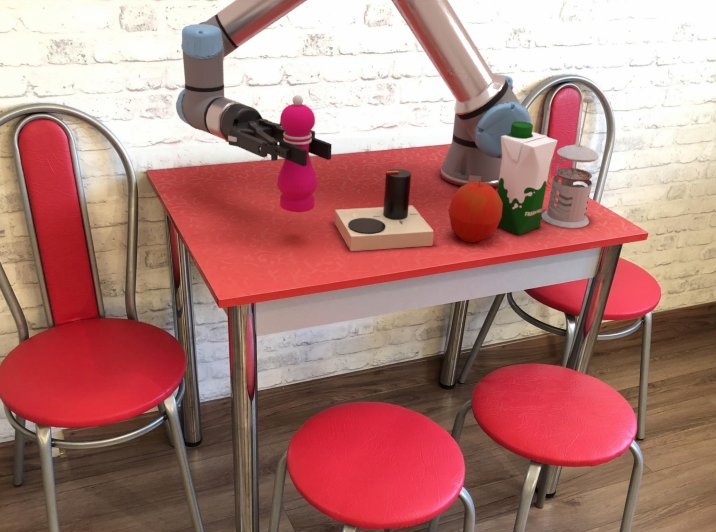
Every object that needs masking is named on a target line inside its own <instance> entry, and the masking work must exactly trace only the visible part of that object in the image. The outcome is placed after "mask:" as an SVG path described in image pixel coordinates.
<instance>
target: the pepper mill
mask: <svg viewBox="0 0 716 532" xmlns="http://www.w3.org/2000/svg"><path fill="white" fill-rule="evenodd" d="M303 102H304V99H303V97H302V96H301V95H299V94H298V95H294V96H293V98H292V104H289V105H287V106H285V107H284V108H283V109H282V112H281V113H280V119H279V124H280V123H281V125H282V127H283V129H284V130H285V132H284V133H283V135H284V138H283V140H284V141H285V142H287V143H290V144H292V145H295V146H297V147H300V148H303V149H305V150H307V166H301V165H299V164H296V163H294V162H291V161H289V160H286V159H284V161H283V163H282V166H281V168H280V170H279V172H278V175H277V182H276V183H277V184H276V185H277V188H278V190H279V192H280V193H282V194H280V196H279V206H280V208H281V209H283V210H284V211H286V212H292V213H303V212H308V211H311V210H312V209H314V207H315V196H314V195H313V194H314V192H315V191H316V190H317V188H318V178H317V173H316V171H315V169H314V166H313V164H312V162H311V157H310V153H309V143H310V142H311V141H312V139H311V136H312V133H311V132H310V131H311V130H313V128H314V127H315V124H316V123H315V122H316V117H315V113H314V111H313V109H312V108H310V107H309V106H308V105H306V104H303Z"/></svg>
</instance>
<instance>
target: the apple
mask: <svg viewBox="0 0 716 532" xmlns="http://www.w3.org/2000/svg"><path fill="white" fill-rule="evenodd" d="M502 205H503V203H502V200H501V198H500V196H499V195H498V193H497V189H495V188H492V187H491V186H490V185H488V184H486V183H482V182H480V181H479V182H470V183H467V184H466V185H464V186H459V188H458V189H457V190H456V192H455V193H454V194H453V195H452V196H451V199H450V202H449V206H448V215H449V216H448V217H449V220H450V221H449V222H450V227H451V230H452V232H453V233H455V234H456V236H458V237H459V239H461V241H464V242H467V243H477V242H481V241H482V240H485V239H487V238H488V237H491V236H493V235H494V234H495V233H496V231H497V229H498V228H499V227H498V224H499V222H500V219H501V217H502Z"/></svg>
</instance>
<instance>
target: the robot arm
mask: <svg viewBox="0 0 716 532" xmlns="http://www.w3.org/2000/svg"><path fill="white" fill-rule="evenodd" d="M307 1H308V0H233V1H232V2H231V3H229V4H228V5H227V6H225V7H224V8H223V9H221V10H219V11H218V12H217V13H216V14H214V15H213V16H211V17H209V18H208V19H207V20H206V21H202V22H199V23H193V24H189V25H186V26H185V27H183V28H182V31H181V46H180V47H181V50H182V60H183V62H182V63H183V73H184V88H183V89H182V90H181V91H180V92H179V94H178V96H177V100H176V101H175V111H176V114H177V115H178V117H179V119H180V120H181V121H182V122H183V123H185V124H187V125H189V126H190V127H192V129H195V130H199V131H202V132H205V133H207V134H210V135H212V136H215V137H217V138H219V139H221V140H224V141H225V142H226V143H228V146H232V147H236V148H239V149H242V150H245V151H246V152H249V153H251V154H254V155H256V156H258V157H261V158H267V157H268V155H270V160H271V161H278V160H279V159H278V157H280V158H281V159H284V160H285V159H286V160H289V161H291V162H294V163H296V164H299V165H301V166H307V150H305V149H303V148H300V147H297V146H295V145H292V144H290V143H287V142H285V141H284V140H283V138H284V135H283V133H284V132H285V130H284V129H283V127H282V125H281V123H280V122H279V123H277V122H273V121H271V120H268V119H266V118H263V117H262V114H261V113H260V111H258V110H257V109H256V108H255V107H252V106H249V105H247V104H244V103H241V102H240V101H238V100H237V101H236V100H233V99H230V98H228V97H225V78H224V77H225V76H224V60H225V57H227V56H228V55H230V54H231V53H233V52H235V51H236V50H237V49H238V48H240V47H241V46H242V45H244V44H245V43H246V42H248V41H249V40H251V39H253V38H254V37H255V36H257V35H258V34H260V33H261V32H263V31H265V30H266V29H267V28H268V27H270V26H272V25H273V24H274V23H276V22H277V21H279V20H280V19H282V18H283V17H285V16H286V15H287V14H289V13H291V12H292V11H294V10H295V9H296V8H298V7H299V6H301V5H303V4H304V3H306V2H307ZM390 1H391V2H392V4H393V5H394V7H395V8H396V10H397V11H398V13H399V15H400V16H401V18H402V19H403V21H404V22H405V24H406V25H407V27H408V28H409V30H410V31H411V33H412V35H413V36H414V37H415V39H416V40H417V42H418V43H419V45H420V47H421V48H422V50H423V51H424V53H425V54H426V56H427V57H428V59H429V60H430V62H431V63H432V65H433V66H434V68H435V70H436V71H437V73H438V75H440V76H439V77H441V79H442V80H443V82H444V84H445V85H446V86H447V88H448V89H449V91H450V93H451V94H452V95H453V97H454V99H455V103H454V104H455V105H454V109H453V111H454V118H453V120H454V121H453V128H452V139H451V140H452V141H451V143H450V146H449V148H448V151H447V153H446V154H445V157H444V159H443V162H442V164H441V167H440V177H441V179H443V180H444V181H446V182H447V183H449V184H451V185H454V186H458V187H462V186H464V185H466V184H467V183H470V182H479V181H480V182H482V183H486V184H488V185H490V186H491V187H492V188H494V189H495V188H498V182H499V175H500V168H501V161H502V147H501V136H504V135H506V134H509V133H511V125H512V123H513V122H527V123H530V124H532V125H533V122H532V118H531V115H530V112H529V110H528V109H527V107H525V106H524V105H523V104H522V103H521V102H520V101H519V98H518V97H517V96H516V94H515V92H514V91H513V89H514V85H513V82H514V81H513V78H512V77H511V76H509V75H505V74H497V73H493V71H492V70H491V68H490V67H489V65H488V63H487V62H486V60H485V59H484V57H483V55H482V54H481V52H480V51H479V48H478V47H477V45H476V44H475V42H474V41H473V39H472V37H471V35H470V34H469V33H468V31H467V29H466V28H465V26H464V24H463V23H462V21H461V19H460V18H459V16H458V14H457V13H456V12H455V9H454V8H453V6H452V5H451V2H449V0H390ZM310 132H311V133H312V136H311V139H312V141H311V142H310V143H309V154H312V155H314V156H317V157H319V158H322V159H325V160H327V161H330V160H332V145H333V144H332V143H330V142H327V141H324V140H322V139H319V138H316V131H315V130H313V129H311V131H310Z"/></svg>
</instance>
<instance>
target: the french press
mask: <svg viewBox="0 0 716 532" xmlns="http://www.w3.org/2000/svg"><path fill="white" fill-rule="evenodd" d="M582 103H585V104H586V107H585V110H584V111H585V112H584V116H583V122H582V127H581V132H580V138H579V142H578V144H569V145H565V146H563V147H560V148H558V149H557V151H556V153H557V155H555V156H554V157H552V160H551V163H550V168H549V173H548V177H549V182H550V185H551V189H550V194H549V199H548V204H547V209H546V210H545V211H543V212H542V215H541V219H542V220H543V221H544V222H546V223H548V224H550V225H553V226H557V227H560V228H568V229H577V228H578V229H579V228H583V227H586V226H587V225H588V224H589V223H590V221H589V218H588V217H587V215H586V214H587V209H588V206H589V201H590V195H591V191H592V186H593V182H592V180H591V179H592V178H593V174H592V173H591V172H589V171H588V170H585V169H582V168H578V167H577V163H593V162H596V161H597V160H598V159H599V157H600V156H599V154H598V153H597V152H596V151H595V150H594V149H593V148H591V147H588V146H587V145H581V144H582V143H581V142H582V138H583V134H584V133H583V132H584V127H585V123H586V122H585V121H586V117H587V111H588V107H589V104H593V103H594V97H593V96H591V95H586V96H584V97H583V99H582ZM557 157H559V159H558V161H557V164H556V168H555V176H552V177H551V175H552V174H551V171H552V165H553V163H554V161H555V159H556V158H557ZM562 159H564V160H562ZM567 161H571V162H573V163H574V162H575V163H574V167H572V166H571V167H567V166H565V167H559V163H560V162H562V163H564V162H567ZM560 178H561V182H560V181H559V180H560ZM578 182H579V183H584V184H585V185H587V186H585V185H584V184H578ZM574 183H577V184H574ZM556 198H557V199H556ZM555 204H556V205H555Z"/></svg>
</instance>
